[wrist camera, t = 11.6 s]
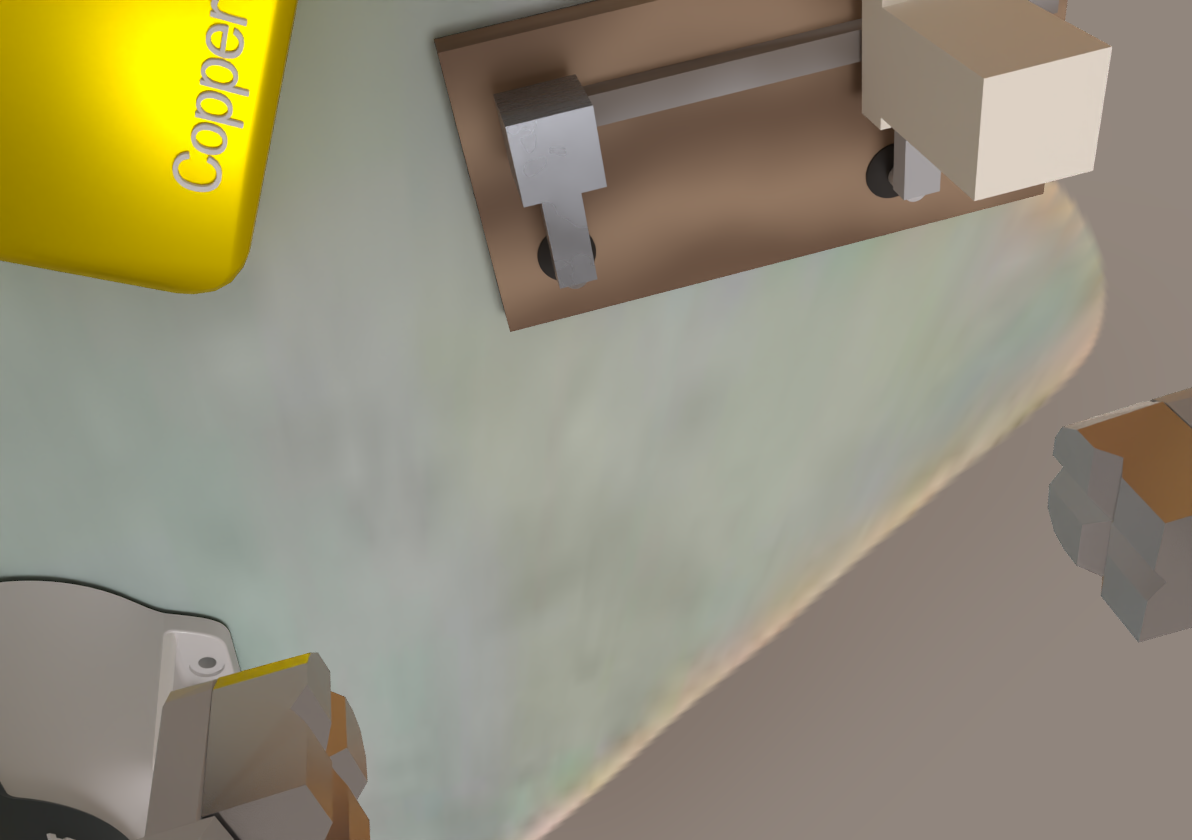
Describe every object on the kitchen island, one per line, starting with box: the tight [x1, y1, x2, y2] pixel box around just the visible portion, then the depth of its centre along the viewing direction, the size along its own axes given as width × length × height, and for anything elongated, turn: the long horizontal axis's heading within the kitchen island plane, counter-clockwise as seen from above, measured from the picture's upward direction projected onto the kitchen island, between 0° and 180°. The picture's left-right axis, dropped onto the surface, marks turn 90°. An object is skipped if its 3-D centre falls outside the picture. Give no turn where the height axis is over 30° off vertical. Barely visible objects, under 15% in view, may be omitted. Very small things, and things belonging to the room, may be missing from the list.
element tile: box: [0, 0, 298, 294], centre depth 33 cm, size 15×15×5 cm
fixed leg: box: [493, 74, 607, 289], centre depth 38 cm, size 8×3×4 cm, turn 9°
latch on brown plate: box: [434, 0, 1067, 332], centre depth 41 cm, size 12×24×2 cm, turn 99°
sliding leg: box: [862, 0, 1112, 202], centre depth 37 cm, size 9×4×10 cm, turn 9°
